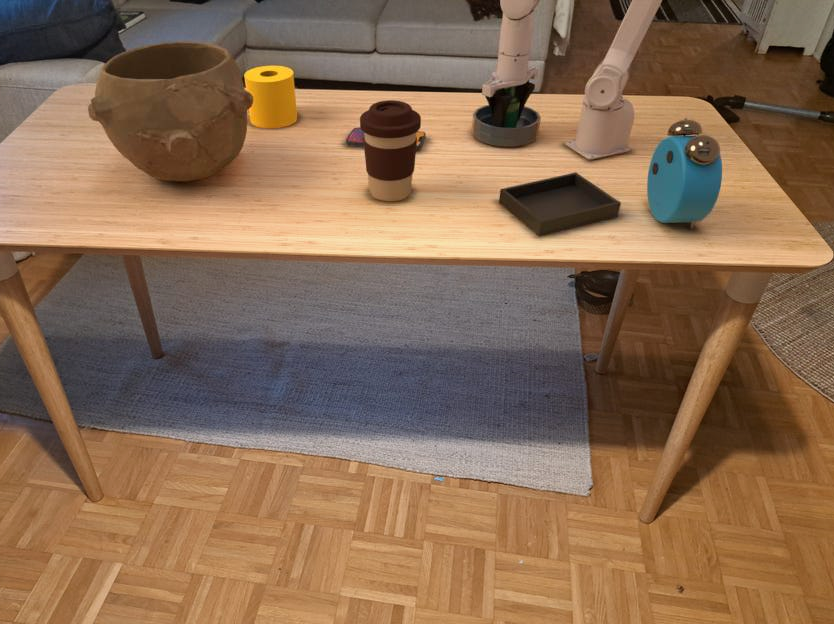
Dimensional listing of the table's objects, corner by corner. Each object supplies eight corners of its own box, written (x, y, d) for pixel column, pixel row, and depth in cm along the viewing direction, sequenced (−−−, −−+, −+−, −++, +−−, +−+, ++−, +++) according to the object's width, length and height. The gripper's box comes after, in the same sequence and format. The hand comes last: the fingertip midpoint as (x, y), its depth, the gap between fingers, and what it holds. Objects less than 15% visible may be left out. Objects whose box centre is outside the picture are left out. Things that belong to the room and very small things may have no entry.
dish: (514, 118, 143) (517, 99, 141) (550, 141, 134) (553, 121, 131) (460, 129, 140) (461, 109, 137) (492, 153, 130) (495, 133, 128)
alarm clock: (705, 238, 106) (737, 145, 96) (665, 239, 106) (694, 147, 96) (674, 198, 116) (700, 110, 106) (638, 199, 116) (661, 111, 106)
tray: (573, 185, 120) (575, 172, 118) (617, 216, 111) (621, 202, 110) (498, 202, 116) (500, 188, 114) (538, 236, 107) (541, 222, 106)
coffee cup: (424, 203, 116) (427, 116, 106) (366, 209, 115) (364, 121, 105) (411, 177, 123) (413, 94, 113) (357, 182, 122) (355, 98, 112)
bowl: (80, 175, 127) (44, 63, 113) (204, 128, 142) (186, 25, 129) (164, 223, 112) (135, 102, 99) (292, 165, 128) (281, 54, 115)
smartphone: (354, 131, 140) (354, 126, 139) (426, 136, 136) (426, 131, 136) (344, 146, 134) (344, 141, 133) (419, 152, 131) (419, 146, 130)
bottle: (508, 124, 138) (513, 80, 133) (520, 132, 135) (526, 87, 129) (489, 128, 137) (494, 84, 131) (501, 136, 134) (506, 91, 128)
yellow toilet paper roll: (243, 126, 143) (236, 80, 136) (259, 108, 150) (254, 64, 144) (288, 130, 141) (284, 83, 135) (303, 111, 148) (299, 67, 142)
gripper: (521, 38, 132) (512, 108, 141) (472, 55, 125) (466, 128, 134) (551, 46, 128) (540, 117, 137) (502, 64, 121) (494, 138, 130)
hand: (505, 123), depth 135 cm, fingers closed on bottle, 4 cm apart
